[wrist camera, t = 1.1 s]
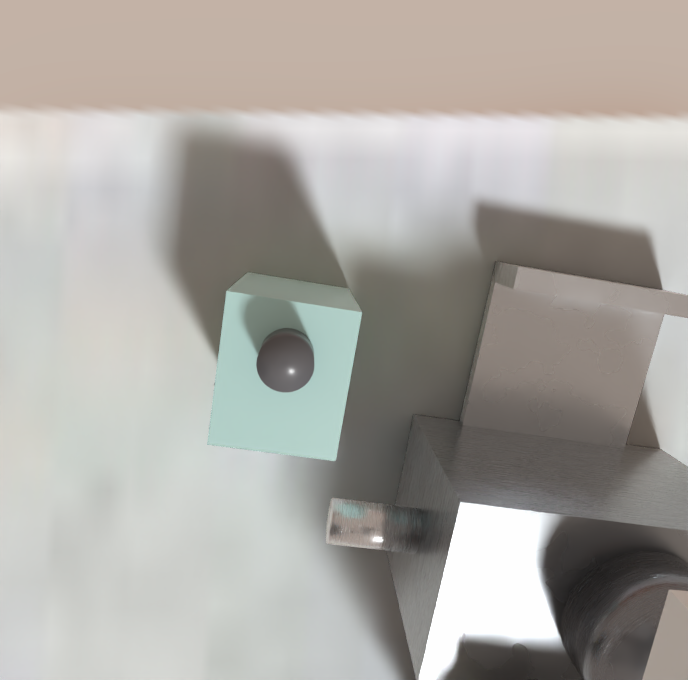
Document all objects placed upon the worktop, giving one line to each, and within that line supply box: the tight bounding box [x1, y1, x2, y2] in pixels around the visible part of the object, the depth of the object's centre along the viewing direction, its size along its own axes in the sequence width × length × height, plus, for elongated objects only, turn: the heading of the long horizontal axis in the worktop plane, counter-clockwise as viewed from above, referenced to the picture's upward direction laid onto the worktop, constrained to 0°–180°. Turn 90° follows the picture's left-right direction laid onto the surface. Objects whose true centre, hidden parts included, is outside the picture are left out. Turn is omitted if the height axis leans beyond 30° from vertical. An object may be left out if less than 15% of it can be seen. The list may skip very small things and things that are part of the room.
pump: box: [207, 272, 362, 461], centre depth 23 cm, size 5×6×8 cm
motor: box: [326, 262, 688, 680], centre depth 23 cm, size 18×16×12 cm
